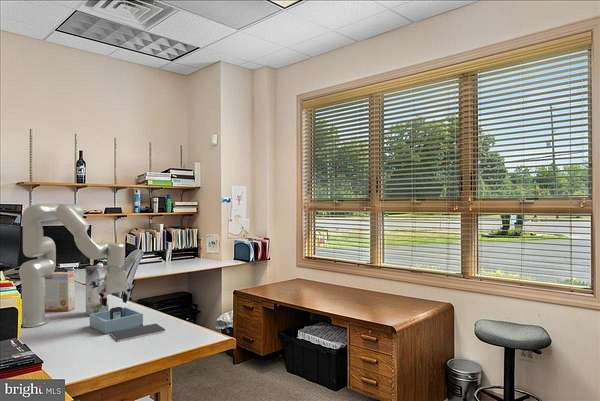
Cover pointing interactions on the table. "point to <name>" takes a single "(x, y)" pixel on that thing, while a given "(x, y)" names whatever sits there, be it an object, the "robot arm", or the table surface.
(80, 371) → the table surface
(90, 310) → the juice carton
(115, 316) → the ink cartridge
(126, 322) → the bin
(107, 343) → the table surface
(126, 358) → the table surface
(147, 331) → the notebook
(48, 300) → the cracker box
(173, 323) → the table surface
